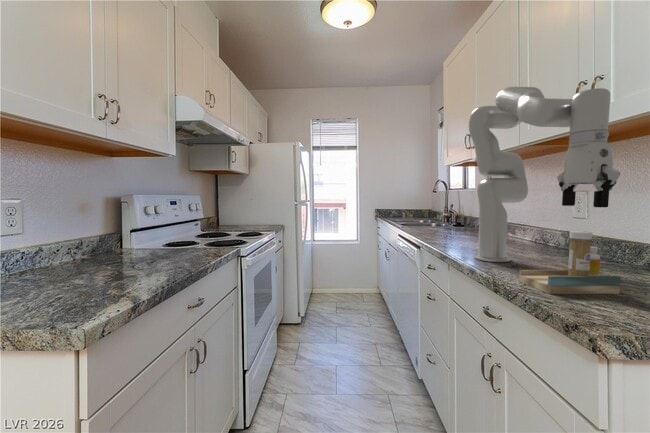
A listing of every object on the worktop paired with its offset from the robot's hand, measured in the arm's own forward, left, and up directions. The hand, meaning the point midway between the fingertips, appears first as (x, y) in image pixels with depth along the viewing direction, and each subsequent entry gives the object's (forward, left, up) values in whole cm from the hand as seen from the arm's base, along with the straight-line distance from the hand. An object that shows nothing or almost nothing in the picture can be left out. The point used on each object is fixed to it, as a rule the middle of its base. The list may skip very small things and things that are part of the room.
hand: (583, 206), depth 80 cm
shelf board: (-2, -2, -22) cm, 22 cm away
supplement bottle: (-10, +11, -22) cm, 27 cm away
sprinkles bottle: (0, 0, -20) cm, 20 cm away
